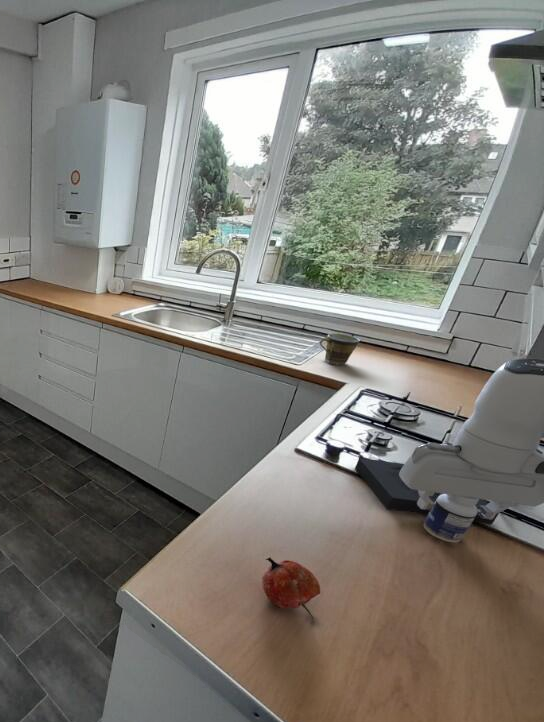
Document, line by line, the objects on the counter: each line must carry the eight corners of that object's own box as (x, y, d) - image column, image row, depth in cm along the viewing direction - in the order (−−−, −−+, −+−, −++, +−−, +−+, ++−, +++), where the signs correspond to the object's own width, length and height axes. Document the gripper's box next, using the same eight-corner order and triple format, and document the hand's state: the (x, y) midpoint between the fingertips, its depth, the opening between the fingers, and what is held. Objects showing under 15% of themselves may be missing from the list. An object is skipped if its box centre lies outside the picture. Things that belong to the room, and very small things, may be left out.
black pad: (444, 480, 92) (450, 469, 91) (492, 524, 80) (499, 512, 79) (354, 468, 96) (359, 458, 95) (386, 509, 84) (392, 497, 82)
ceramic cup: (339, 357, 162) (348, 333, 157) (357, 367, 153) (366, 342, 148) (306, 357, 162) (314, 333, 158) (321, 366, 153) (330, 341, 149)
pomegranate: (308, 606, 66) (268, 547, 69) (348, 606, 60) (303, 541, 63) (280, 632, 63) (240, 569, 66) (320, 634, 57) (273, 565, 60)
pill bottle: (419, 518, 81) (440, 479, 77) (455, 529, 79) (479, 488, 75) (426, 536, 77) (448, 495, 73) (464, 547, 75) (490, 506, 70)
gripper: (430, 451, 69) (398, 513, 75) (580, 470, 65) (533, 534, 71) (409, 432, 75) (380, 491, 81) (545, 448, 71) (504, 509, 76)
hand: (453, 512), depth 76 cm, fingers open, 8 cm apart
